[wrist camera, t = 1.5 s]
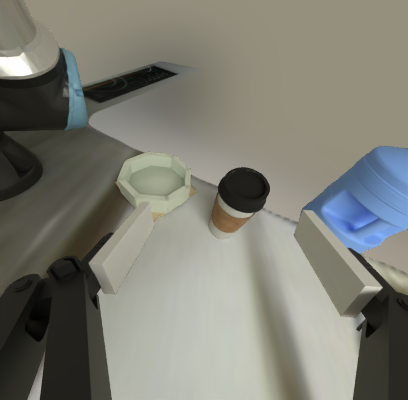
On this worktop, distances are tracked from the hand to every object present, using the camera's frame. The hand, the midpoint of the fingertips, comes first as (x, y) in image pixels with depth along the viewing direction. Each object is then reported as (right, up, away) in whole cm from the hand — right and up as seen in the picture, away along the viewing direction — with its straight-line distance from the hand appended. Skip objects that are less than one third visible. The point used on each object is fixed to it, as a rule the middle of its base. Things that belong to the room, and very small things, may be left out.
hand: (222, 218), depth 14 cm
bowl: (-13, +5, +26) cm, 30 cm away
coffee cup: (+2, -5, +23) cm, 24 cm away
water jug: (+31, -6, +29) cm, 43 cm away
